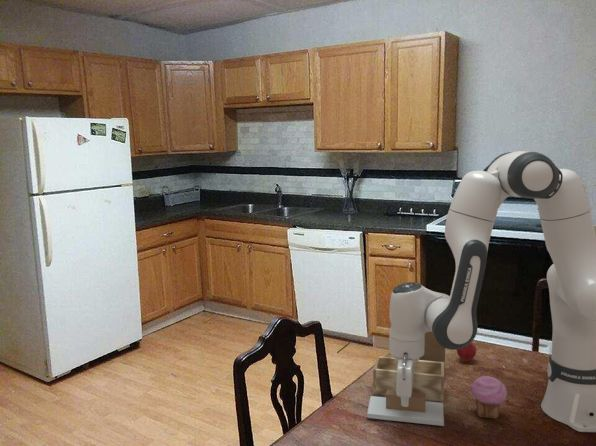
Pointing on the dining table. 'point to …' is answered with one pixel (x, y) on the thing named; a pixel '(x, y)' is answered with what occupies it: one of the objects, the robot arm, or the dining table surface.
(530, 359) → the dining table surface
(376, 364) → the light wooden open box
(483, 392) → the cupcake
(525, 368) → the dining table surface
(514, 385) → the dining table surface
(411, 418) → the lid
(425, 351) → the wooden block
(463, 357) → the onion
